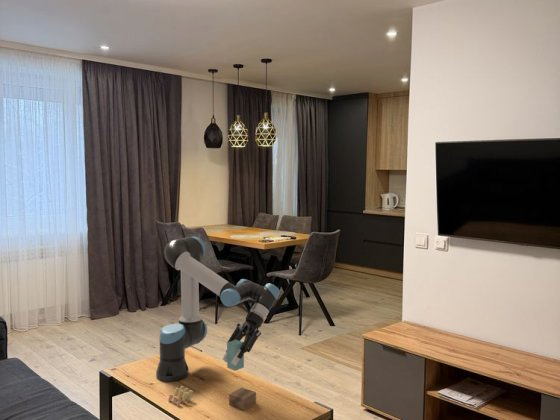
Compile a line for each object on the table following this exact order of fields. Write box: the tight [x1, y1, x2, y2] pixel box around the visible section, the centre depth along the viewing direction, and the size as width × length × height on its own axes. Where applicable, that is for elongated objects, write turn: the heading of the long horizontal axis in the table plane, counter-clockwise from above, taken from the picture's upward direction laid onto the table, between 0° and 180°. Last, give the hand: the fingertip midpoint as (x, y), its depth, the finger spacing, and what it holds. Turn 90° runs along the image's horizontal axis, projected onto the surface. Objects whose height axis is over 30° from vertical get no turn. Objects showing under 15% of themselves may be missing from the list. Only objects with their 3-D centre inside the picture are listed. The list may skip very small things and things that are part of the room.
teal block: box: [226, 340, 245, 372], centre depth 208 cm, size 5×5×11 cm
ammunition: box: [168, 385, 193, 407], centre depth 208 cm, size 5×7×8 cm
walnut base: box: [228, 386, 257, 412], centre depth 206 cm, size 8×8×5 cm
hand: (228, 362), depth 205 cm, fingers closed on teal block, 5 cm apart
